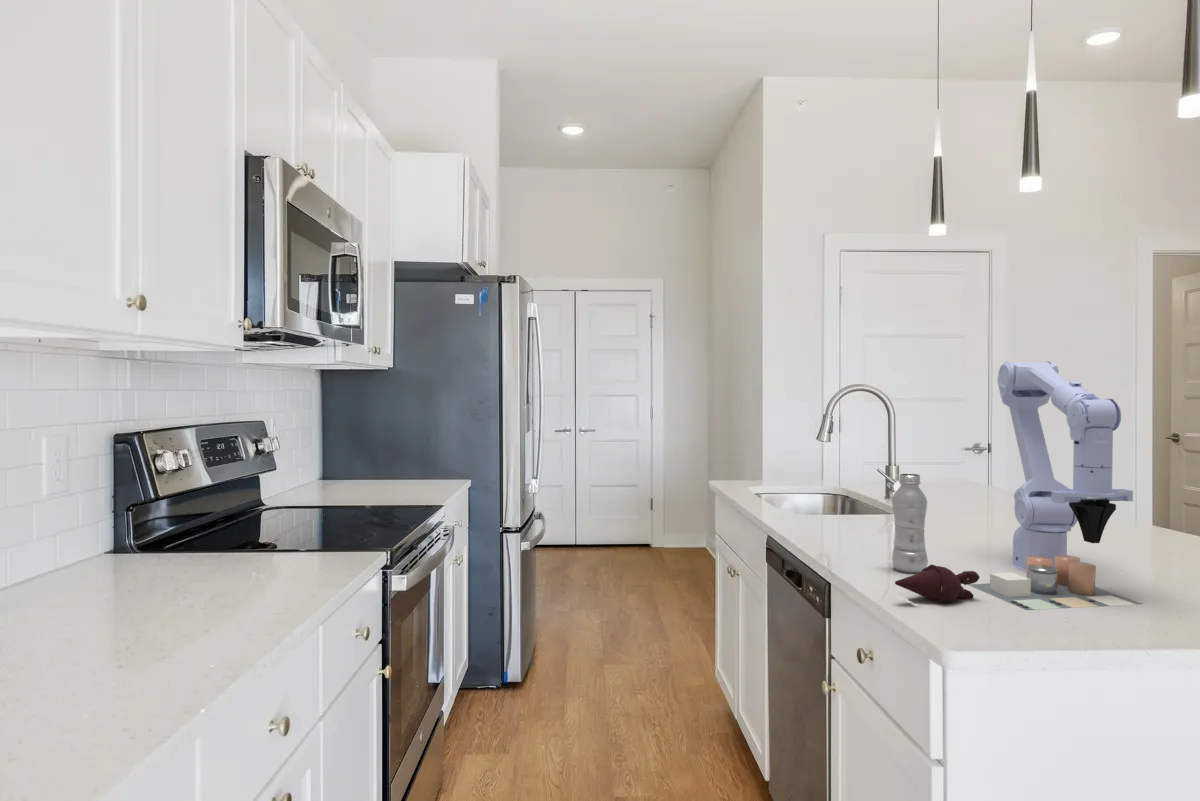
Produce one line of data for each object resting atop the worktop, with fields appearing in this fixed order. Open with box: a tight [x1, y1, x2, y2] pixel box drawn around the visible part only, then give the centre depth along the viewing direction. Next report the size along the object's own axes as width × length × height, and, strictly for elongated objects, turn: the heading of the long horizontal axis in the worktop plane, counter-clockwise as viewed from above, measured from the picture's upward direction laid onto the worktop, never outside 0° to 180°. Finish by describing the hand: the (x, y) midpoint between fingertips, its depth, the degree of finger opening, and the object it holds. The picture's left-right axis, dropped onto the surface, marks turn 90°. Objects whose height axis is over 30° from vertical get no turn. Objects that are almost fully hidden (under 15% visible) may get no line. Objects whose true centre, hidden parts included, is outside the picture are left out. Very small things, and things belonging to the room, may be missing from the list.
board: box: [967, 582, 1144, 611], centre depth 126 cm, size 15×22×1 cm
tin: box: [1028, 565, 1058, 595], centre depth 127 cm, size 5×5×4 cm
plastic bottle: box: [891, 473, 929, 575], centre depth 142 cm, size 6×7×20 cm
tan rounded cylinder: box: [1068, 561, 1097, 595], centre depth 126 cm, size 4×4×5 cm
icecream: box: [894, 564, 980, 605], centre depth 122 cm, size 7×7×15 cm
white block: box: [989, 572, 1031, 597], centre depth 126 cm, size 4×4×3 cm
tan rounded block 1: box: [1026, 556, 1052, 578], centre depth 131 cm, size 4×4×5 cm
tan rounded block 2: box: [1055, 554, 1081, 587], centre depth 132 cm, size 4×4×5 cm
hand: (1091, 542), depth 125 cm, fingers closed
